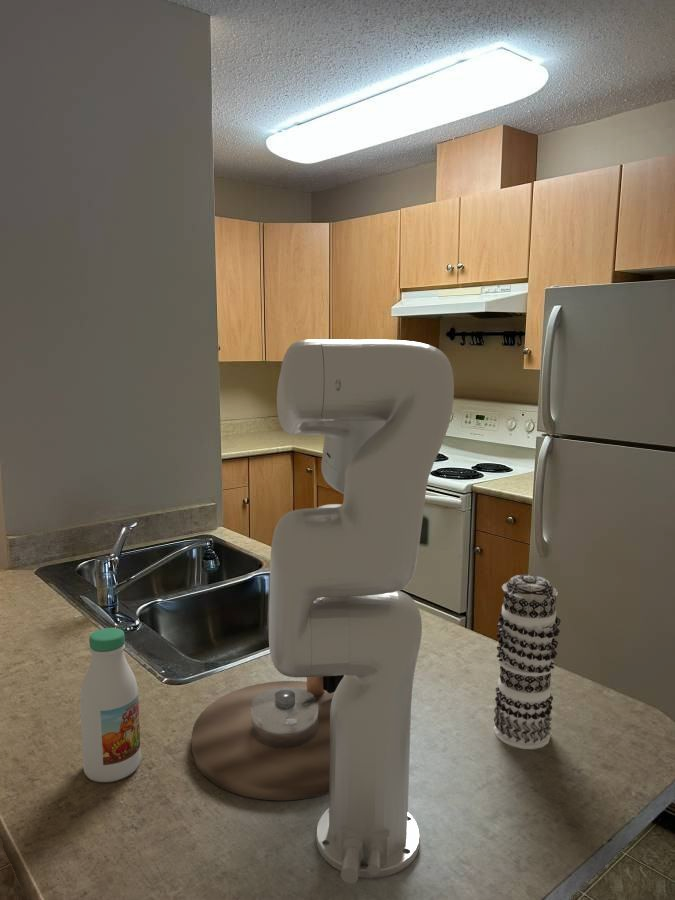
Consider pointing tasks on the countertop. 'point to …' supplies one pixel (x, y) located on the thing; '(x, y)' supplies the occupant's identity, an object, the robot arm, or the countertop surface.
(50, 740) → the countertop surface
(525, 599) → the decorative candle
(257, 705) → the lid
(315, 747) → the turntable
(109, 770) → the milk bottle
